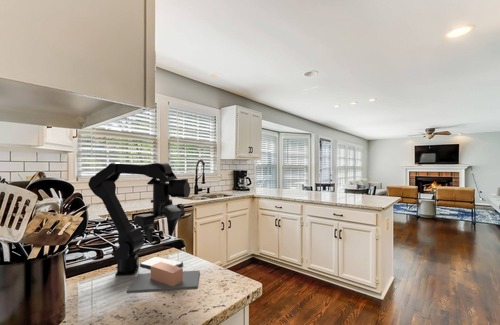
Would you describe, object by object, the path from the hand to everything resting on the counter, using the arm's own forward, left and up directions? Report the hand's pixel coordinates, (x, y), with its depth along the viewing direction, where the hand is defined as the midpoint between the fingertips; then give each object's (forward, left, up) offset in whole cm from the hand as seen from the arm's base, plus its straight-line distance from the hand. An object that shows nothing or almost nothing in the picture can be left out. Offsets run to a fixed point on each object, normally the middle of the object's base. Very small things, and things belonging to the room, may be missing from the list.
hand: (161, 239), depth 92 cm
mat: (+3, -6, -13) cm, 15 cm away
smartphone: (-2, +8, -14) cm, 16 cm away
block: (-1, -3, -10) cm, 11 cm away
